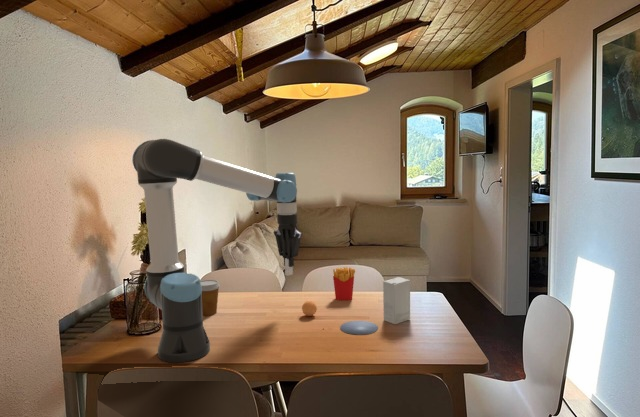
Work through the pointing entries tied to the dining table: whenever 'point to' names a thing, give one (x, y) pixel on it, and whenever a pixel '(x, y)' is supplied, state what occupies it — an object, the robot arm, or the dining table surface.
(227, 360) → the dining table surface
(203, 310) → the disposable coffee cup
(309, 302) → the ball
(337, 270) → the french fries
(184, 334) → the robot arm
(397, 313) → the skincare box
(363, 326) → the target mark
